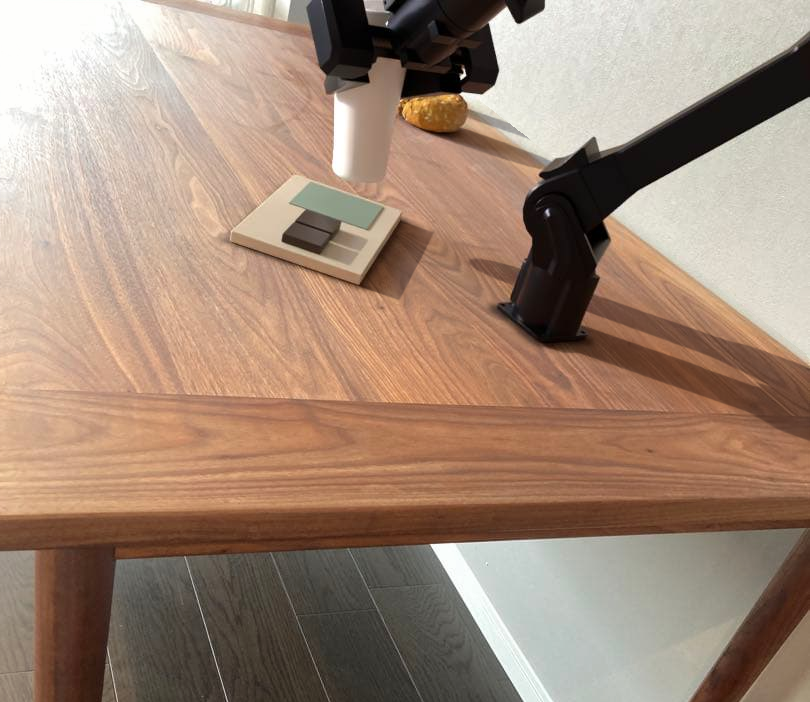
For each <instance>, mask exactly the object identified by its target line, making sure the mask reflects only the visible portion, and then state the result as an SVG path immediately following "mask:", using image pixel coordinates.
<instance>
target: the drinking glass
mask: <svg viewBox="0 0 810 702" xmlns="http://www.w3.org/2000/svg"><path fill="white" fill-rule="evenodd" d="M363 1H364V5H365V10H366V14H367V18H368V23H369V25H374V26H380V27H386V21H387V20H388V19H389V18H390V13H389V11H385V9H384V5H383V0H363ZM406 70H407V68H402V67H401V62H395V61H388V60H381V59H377V61H376V63H375V64H374V65H372V68H371V69H370V70H369V71H368V75H369V80H370V83H369V84H366V85H363V86H360V87H356V88H353V89H349V90H346V91H343V92H340V93H336V94H334V98H333V99H334V103H333V104H334V105H333V106H334V108H333V110H334V111H333V112H334V113H333V115H334V116H333V152H332V162H331V164H332V165H331V166H332V171H333V173H334V175H336V176H337V177H339V178H340V179H342V180H345V181H347V182H352V183H356V184H365V185H366V184H367V185H368V184H377V183H379V182H381V181H383V180H384V179H385V177H386V175H387V171H388V164H389V163H388V162H389V155H390V151H391V145H392V141H393V135H394V131H395V126H396V122H397V116H398V114H397V112H398V107H399V103H400V98H401V93H402V89H403V84H404V79H405V74H406Z"/></svg>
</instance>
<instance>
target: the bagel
mask: <svg viewBox="0 0 810 702" xmlns="http://www.w3.org/2000/svg"><path fill="white" fill-rule="evenodd" d="M468 105H469V104H468V102H467V101H466V100H465V99H464V97H463V96H462V95H461V93H460V94H458V95H441V96H431V97H421V98H412V99H403V100H400V103H399V107H398V112H397V116H400V117H403V119H404V120H405V121H406V122H407V123H409V124H410V125H413V126H416V127H417V128H420V129H423V130H426V131H431V132H434V133H455V132H456V131H458V130H459V129H460V128H461V127H462V126H464V124H465V123H466V121H467V119H468V113H469V108H468Z"/></svg>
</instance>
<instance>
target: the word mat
mask: <svg viewBox="0 0 810 702" xmlns="http://www.w3.org/2000/svg"><path fill="white" fill-rule="evenodd" d="M403 213H404V211H403V210H401V209H398V208H395V207H393V206H390V205H386V204H384V203H381V202H377V201H375V200H371V199H368V198H365V197H363V196H361V195H357V194H354V193H352V192H349V191H345V190H342V189H339V188H338V187H337V188H336V187H333V186H331V185H328V184H325V183H322V182H320V181H316V180H313V179H310V178H307V177H304V176H301V175H298V174H296V173H295V174H293V175H292V176H291V177H290V178H289V179H287V180H286V181H285V182H284V183H283V184H282V185H281V186H280V187H279V188H278V189H276V190H275V191H274V192H273V193H272V194H271V195H270V196H268V198H266V199H265V200H264V201H263V202H262V203H261V204H259V206H258V207H257V208H255V209H254V210H253V211H252V212H251V213H249V214H248V216H246V217H245V218H244V219H243V220H242V221H241V222H240V223H238V224H237V225H236V226H235V227H234V228H233V229H232V230H231V232H230V237H229V242H231V243H234V244H237V245H240V246H243V247H246V248H248V249H252V250H255V251H257V252H260V253H263V254H267V255H270V256H273V257H275V258H278V259H281V260H284V261H287V262H290V263H293V264H295V265H299V266H302V267H305V268H307V269H309V270H313V271H317V272H319V273H322V274H325V275H328V276H331V277H334V278H337V279H340V280H341V281H342V280H343V281H345V282H348V283H352V284H354V285H357V286H359V285H360V284H361V282H362V281H363V280H364V278H365V276H366V275H367V273H368V271H369V270H370V268H371V267H372V266H373V264H374V262H375V260H376V259H377V257H378V256H379V254H380V253H381V251H382V249H383V248H384V246H385V245H386V244H387V242H388V240H389V239H390V237H391V236H392V234H393V233H394V231H395V229H396V228H397V226H398V225H399V223H400V221H401V220H402V217H403Z"/></svg>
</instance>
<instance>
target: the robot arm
mask: <svg viewBox="0 0 810 702" xmlns="http://www.w3.org/2000/svg"><path fill="white" fill-rule="evenodd" d="M383 5H384V9H385V11H389V13H390V18H389V19H388V20H387V21H386V27H380V26H374V25H369V23H368V18H367V14H366V10H365V5H364V1H363V0H310V1H309V3H308V4H307V6H305V10H306V14H307V18H308V22H309V27H310V32H311V35H312V40H313V45H314V49H315V53H316V58H317V63H318V67H319V69H320V70H321V71H322V73H323V74H324V75H325V78H324V82H323V88H324V91H325V94H326V95H327V96H328V95H329V96H331V95H335V94H336V93H340V92H343V91H346V90H349V89H353V88H356V87H360V86H363V85H366V84H369V83H370V80H369V75H368V71H369V70H370V69H371V68H372V65H374V64H375V63H376V61H377V59H381V60H388V61H395V62H401V67H402V68H407V70H406V74H405V79H404V84H403V89H402V93H401V98H400V100H403V99H412V98H421V97H431V96H441V95H458V94H460V95H461V94H463V93H465V94H473V95H481V96H482V95H484V94H485V93H486V92H488V91H490V90H491V88H493V87H495V86H496V83H497V81H498V77H499V73H500V67H499V61H498V57H497V54H496V49H495V44H494V38H493V35H492V29H491V26H490V22H491V21H492V20H494V19H495V18H496V17H497V16H498V15H499V14H501V12H502V11H504V10H505V9H506V8H507V10H508V11H509V13H510V15H511V16H512V19H513V21H514V23H516V24H517V25H521V24H523V23H525V22H527V21H528V20H530V19H532V18H533V17H535V16H538V15H539V14H540V13H542V12H543V11H544V10H545V8H546V0H383ZM464 74H465V76H464ZM462 76H463V78H461V77H462ZM809 98H810V30H809V31H808V32H806V33H805V34H804V35H803V36H802V37H801V38H799V39H798V40H797V41H796V42H794V43H793V44H792V45H791V46H790V47H788V48H787V49H785V50H783V51H782V52H780V53H778V54H776V55H775V56H773V57H771V58H769V59H768V60H766V61H765V62H763V63H761V64H759V65H758V66H755V67H754V68H752V69H750V70H749V71H747V72H746V73H744V74H742V75H741V76H738V77H737V78H735V79H733V80H732V81H730V82H728V83H727V84H725V85H723V86H721V87H720V88H718V89H716V90H715V91H713V92H711V93H709V94H707V95H705V97H703V98H700V99H699V100H697V101H695V102H694V103H692V104H691V105H689V106H687V107H685V108H683V109H682V110H680V111H678V112H677V113H675V114H673V115H671V116H670V117H668V118H666V119H665V120H663V121H661V122H660V123H658V124H656V125H654V126H652V127H651V128H649V129H647V130H645V131H644V132H643V133H640V134H639V135H637V136H635V137H634V138H632V139H630V140H629V141H627V142H625V143H623V144H620V145H616V146H613V147H610V148H606V149H603V150H600V148H599V144H598V140H597V137H596V136H592V137H591V138H590V139H588V140H587V141H586V142H585V143H584V144H582V145H581V146H580V147H579V148H578V149H577V150H575V151H573V153H570V154H569V155H566V156H562V157H555V158H554V159H553V160H552V161H551V162H550V163H548V164H547V165H546V166H545V167H544V168H543V169H542V170H541V171H539V173H538V177H539V178H541V180H539V181H538V182H537V183H536V184H534V186H533V187H532V188H531V189H529V191H528V193H527V195H525V199H524V202H523V205H522V221H523V224H524V228H525V230H526V232H527V233H528V234H529V236H530V237H531V246H530V249H529V250H528V251H529V252H528V254H527V257H526V258H524V259H523V261H522V263H521V266H520V269H519V271H518V274H517V276H516V280H515V282H514V285H513V288H512V290H511V293H510V298H509V302H508V301H507V302H498V303H497V306H496V309H497V310H498V311H499V312H500V313H502V314H503V315H504V316H505V317H506V318H508V319H509V320H510V321H512V322H513V323H514V324H515V325H517V327H519V328H520V329H521V330H522V331H524V332H525V333H526V334H527V335H529V336H530V337H531V338H532V339H533V340H535V341H536V342H540V343H548V342H550V343H551V342H563V341H576V340H586V339H587V337H588V335H589V333H588V332H587V331H586V330H584V329H583V328H582V327H581V325H582V322H583V320H584V317H585V315H586V313H587V310H588V309H589V306H590V303H591V300H592V298H593V296H594V294H595V291H596V289H597V287H598V284H599V282H600V280H601V275H598V274H597V270H596V269H597V268H598V266H599V263H600V262H601V261H602V259H603V257H604V255H605V253H606V252H607V250H608V248H609V247H610V245H611V243H612V238H611V235H610V233H609V230H608V228H607V226H606V223H605V221H604V220H606V219H607V218H609V216H610V215H612V214H613V213H614V212H615V211H616V210H617V209H618V208H620V207H621V206H622V205H623V204H624V203H626V201H628V200H629V199H630V198H631V197H632V196H634V195H635V194H636V193H637V192H639V191H641V190H642V189H644V188H646V187H648V186H649V185H650V186H651V185H652V184H653V183H655V182H657V181H658V180H661V179H662V178H664V177H667V176H668V175H669V174H672V173H673V172H675V171H677V170H679V169H681V168H682V167H684V166H686V165H688V164H690V163H692V162H693V161H696V160H697V159H699V158H701V157H703V156H705V155H707V154H708V153H710V152H712V151H713V150H715V149H717V148H719V147H720V146H723V145H724V144H726V143H728V142H730V141H731V140H734V139H736V138H737V137H739V136H741V135H743V134H744V133H746V132H749V131H750V130H752V129H754V128H755V127H757V126H759V125H761V124H763V123H765V122H766V121H768V120H771V119H772V118H774V117H775V116H777V115H779V114H781V113H783V112H784V111H787V110H788V109H790V108H791V107H793V106H795V105H797V104H799V103H801V102H803V101H804V100H806V99H809Z"/></svg>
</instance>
